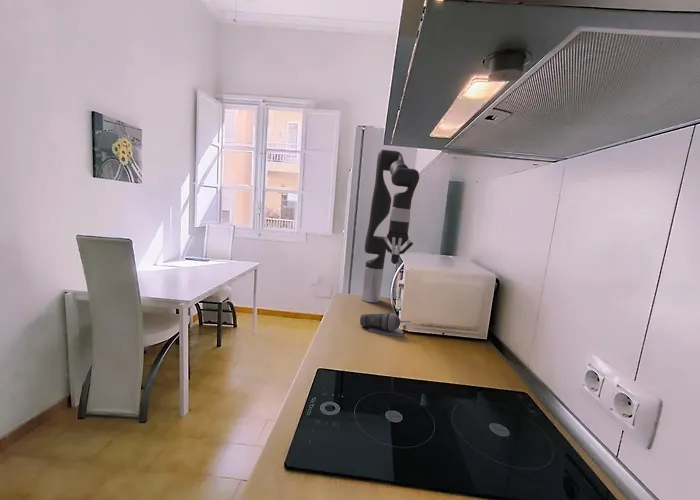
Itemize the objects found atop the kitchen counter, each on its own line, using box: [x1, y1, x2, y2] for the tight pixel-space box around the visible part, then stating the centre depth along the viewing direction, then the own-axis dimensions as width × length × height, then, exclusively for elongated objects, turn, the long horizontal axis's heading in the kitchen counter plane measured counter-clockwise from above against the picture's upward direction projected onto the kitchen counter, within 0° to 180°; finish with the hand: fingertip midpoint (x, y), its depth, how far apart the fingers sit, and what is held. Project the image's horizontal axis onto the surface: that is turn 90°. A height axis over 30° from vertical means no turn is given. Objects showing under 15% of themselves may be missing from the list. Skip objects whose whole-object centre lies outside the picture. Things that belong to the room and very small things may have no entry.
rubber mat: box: [368, 327, 404, 338], centre depth 149 cm, size 16×13×1 cm
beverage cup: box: [359, 312, 413, 331], centre depth 144 cm, size 7×7×20 cm
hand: (394, 263), depth 145 cm, fingers closed
